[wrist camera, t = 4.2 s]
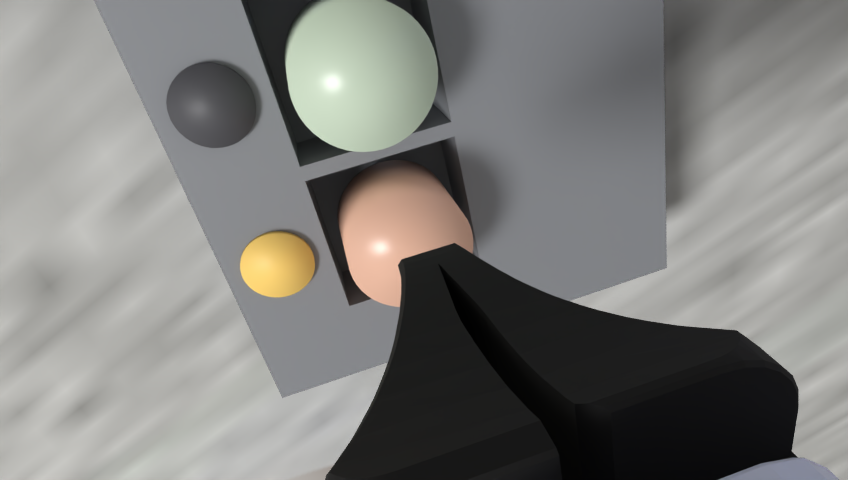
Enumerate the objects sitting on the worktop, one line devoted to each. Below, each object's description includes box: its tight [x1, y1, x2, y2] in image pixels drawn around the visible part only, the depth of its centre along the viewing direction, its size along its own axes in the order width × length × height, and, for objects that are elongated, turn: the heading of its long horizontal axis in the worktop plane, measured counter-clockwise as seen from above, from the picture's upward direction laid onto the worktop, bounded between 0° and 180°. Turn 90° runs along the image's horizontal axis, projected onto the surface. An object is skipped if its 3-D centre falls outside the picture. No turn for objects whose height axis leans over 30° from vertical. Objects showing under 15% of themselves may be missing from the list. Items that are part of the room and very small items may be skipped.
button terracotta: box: [337, 160, 473, 307], centre depth 19 cm, size 4×4×3 cm
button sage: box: [284, 0, 438, 152], centre depth 17 cm, size 4×4×3 cm
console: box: [94, 0, 667, 398], centre depth 19 cm, size 16×22×4 cm
